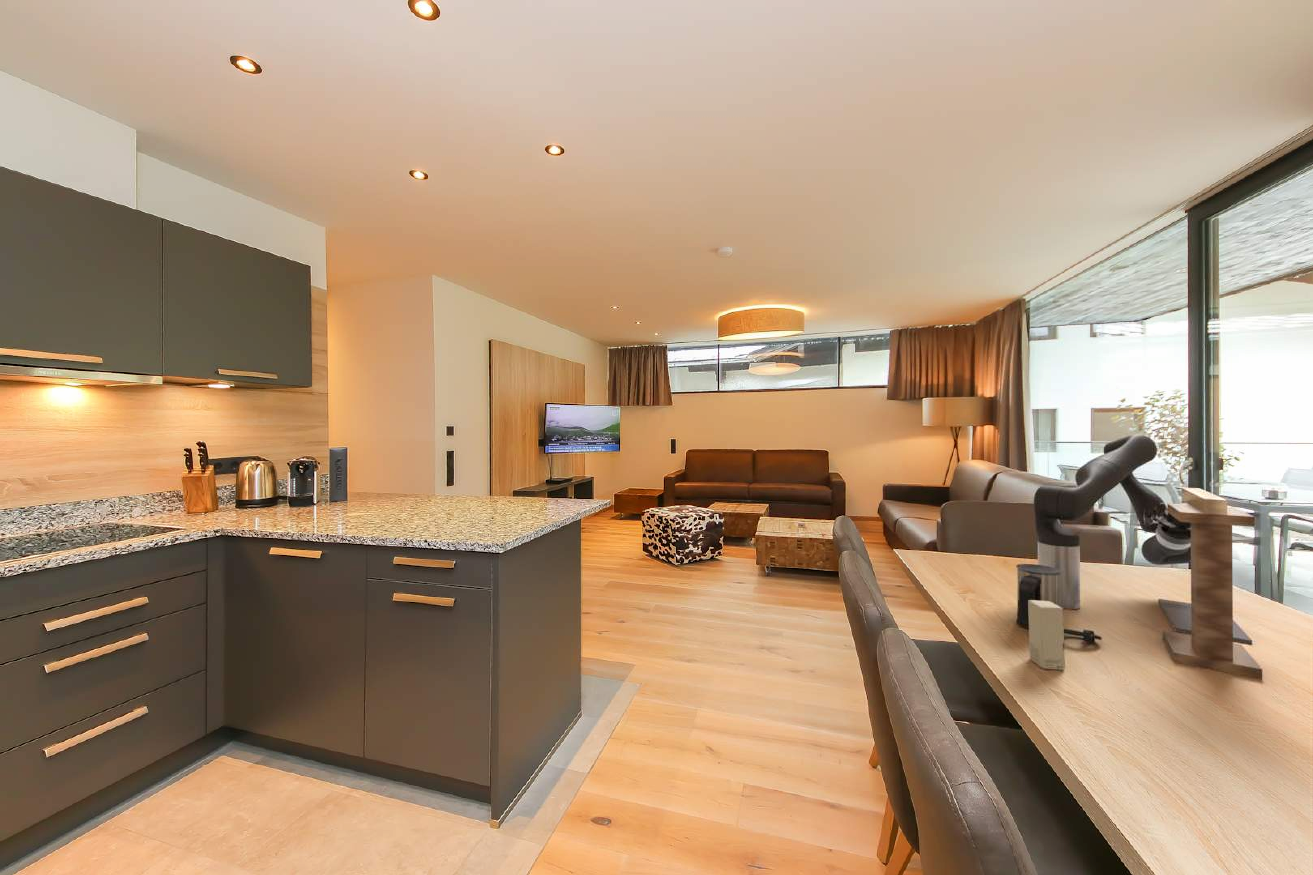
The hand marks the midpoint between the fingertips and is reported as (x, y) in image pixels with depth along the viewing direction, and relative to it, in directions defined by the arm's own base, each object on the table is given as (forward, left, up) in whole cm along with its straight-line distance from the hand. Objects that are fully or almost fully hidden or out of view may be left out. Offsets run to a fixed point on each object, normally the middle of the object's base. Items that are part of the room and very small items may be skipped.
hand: (1187, 508), depth 119 cm
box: (-10, -50, -30) cm, 59 cm away
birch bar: (+5, -14, +2) cm, 15 cm away
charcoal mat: (0, +10, -30) cm, 31 cm away
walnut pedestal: (+7, -18, -30) cm, 36 cm away
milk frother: (-16, -29, -30) cm, 45 cm away
